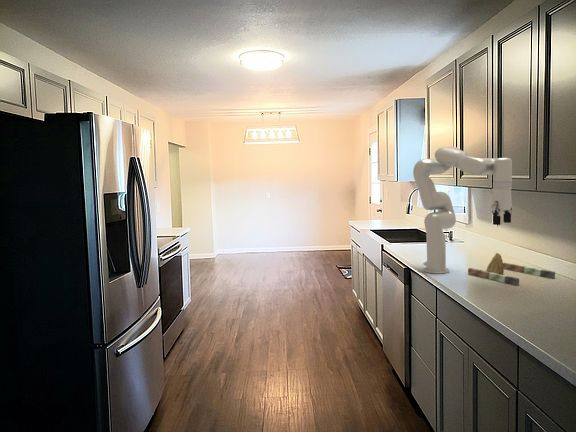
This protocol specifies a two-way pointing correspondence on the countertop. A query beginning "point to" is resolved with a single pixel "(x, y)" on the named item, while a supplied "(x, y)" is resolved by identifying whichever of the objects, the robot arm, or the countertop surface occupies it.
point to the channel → (507, 278)
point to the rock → (496, 265)
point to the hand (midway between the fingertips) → (501, 223)
